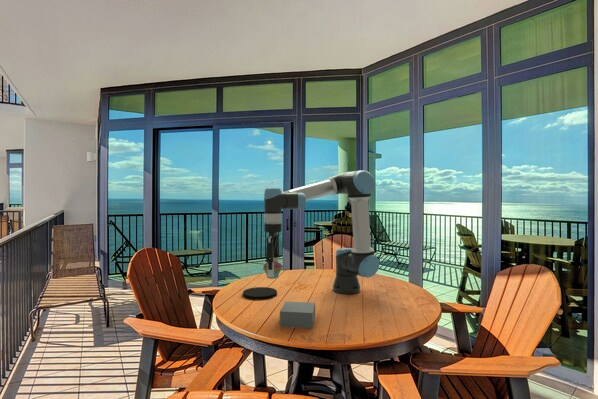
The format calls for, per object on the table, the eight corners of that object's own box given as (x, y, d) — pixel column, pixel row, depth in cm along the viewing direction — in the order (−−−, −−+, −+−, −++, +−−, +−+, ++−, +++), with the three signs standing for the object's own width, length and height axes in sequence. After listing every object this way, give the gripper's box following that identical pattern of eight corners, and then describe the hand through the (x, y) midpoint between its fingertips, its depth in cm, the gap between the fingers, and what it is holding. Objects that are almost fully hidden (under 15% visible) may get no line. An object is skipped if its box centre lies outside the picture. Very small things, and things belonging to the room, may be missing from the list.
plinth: (315, 316, 146) (315, 302, 146) (312, 328, 133) (312, 312, 133) (285, 315, 148) (285, 301, 148) (279, 326, 135) (279, 311, 135)
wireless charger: (267, 289, 191) (267, 285, 191) (283, 297, 176) (283, 293, 176) (237, 293, 182) (237, 290, 182) (251, 302, 167) (251, 298, 167)
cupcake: (263, 275, 154) (263, 249, 154) (282, 275, 155) (282, 248, 155) (262, 280, 146) (262, 252, 145) (282, 279, 146) (282, 251, 146)
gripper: (270, 221, 161) (270, 269, 161) (258, 225, 140) (258, 280, 140) (285, 221, 160) (285, 269, 160) (276, 225, 139) (276, 280, 139)
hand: (273, 274), depth 150 cm, fingers closed on cupcake, 8 cm apart
